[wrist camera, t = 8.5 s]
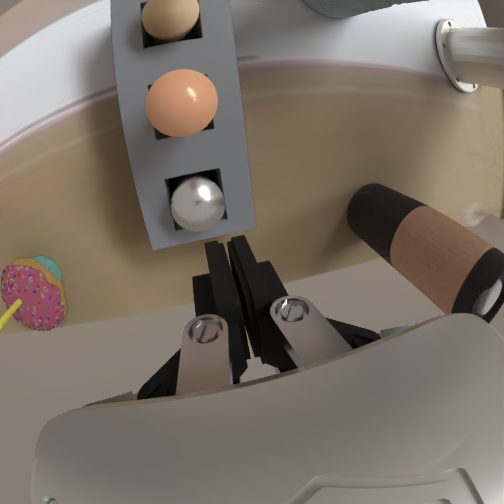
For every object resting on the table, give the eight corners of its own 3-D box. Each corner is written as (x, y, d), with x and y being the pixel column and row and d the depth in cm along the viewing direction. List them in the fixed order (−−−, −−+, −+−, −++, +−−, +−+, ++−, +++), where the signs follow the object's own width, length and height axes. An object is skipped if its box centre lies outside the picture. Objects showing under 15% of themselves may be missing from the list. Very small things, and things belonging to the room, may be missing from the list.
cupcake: (8, 252, 22) (-41, 316, 12) (57, 230, 23) (7, 299, 13) (39, 308, 26) (10, 380, 16) (88, 294, 28) (65, 375, 17)
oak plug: (192, 13, 17) (197, -13, 11) (196, 49, 19) (201, 29, 13) (147, 21, 16) (140, -4, 11) (151, 57, 18) (143, 40, 13)
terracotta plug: (204, 78, 17) (213, 64, 12) (210, 126, 19) (222, 130, 14) (151, 88, 17) (141, 77, 12) (159, 136, 19) (151, 144, 14)
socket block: (217, 1, 17) (226, -21, 12) (243, 208, 28) (256, 228, 24) (121, 17, 15) (110, -2, 11) (156, 227, 26) (153, 250, 22)
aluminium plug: (211, 161, 24) (220, 175, 19) (217, 201, 26) (228, 225, 21) (168, 170, 23) (165, 186, 18) (177, 210, 25) (177, 236, 20)
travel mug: (396, 217, 34) (509, 298, 17) (355, 248, 34) (463, 352, 17) (382, 170, 30) (523, 242, 13) (336, 202, 30) (474, 306, 13)
